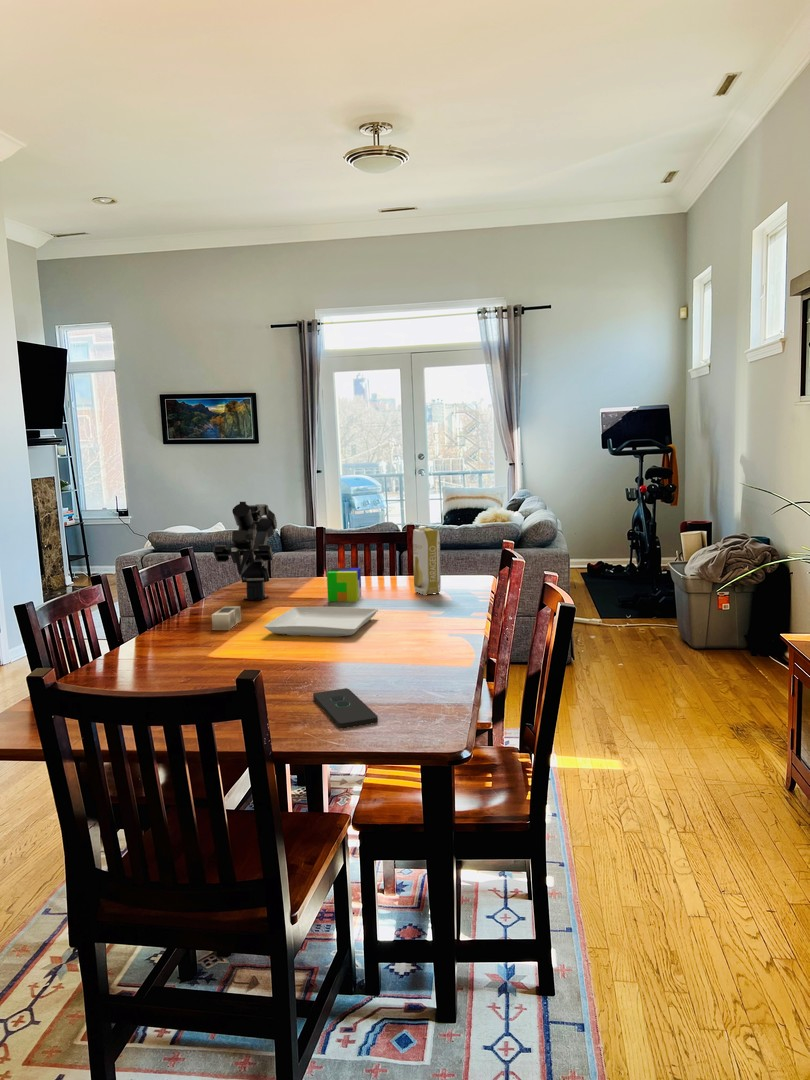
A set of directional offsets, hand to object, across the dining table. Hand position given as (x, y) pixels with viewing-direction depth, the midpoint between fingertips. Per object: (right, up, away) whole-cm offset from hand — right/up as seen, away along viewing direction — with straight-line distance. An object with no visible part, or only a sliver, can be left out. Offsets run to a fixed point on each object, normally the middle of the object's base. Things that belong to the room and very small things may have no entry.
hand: (239, 574), depth 254 cm
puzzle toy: (+32, -10, +20) cm, 39 cm away
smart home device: (+41, -24, -93) cm, 104 cm away
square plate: (+29, -15, -21) cm, 39 cm away
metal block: (0, -12, -11) cm, 16 cm away
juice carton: (+61, -8, +25) cm, 67 cm away
